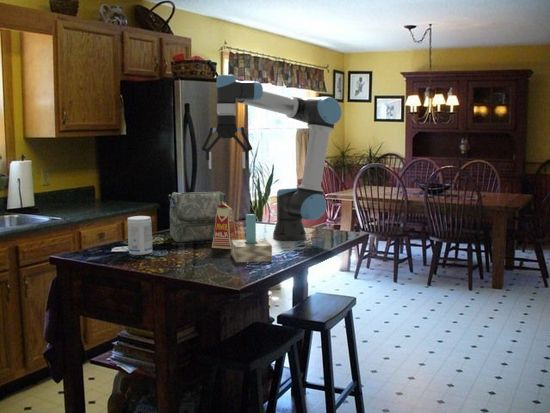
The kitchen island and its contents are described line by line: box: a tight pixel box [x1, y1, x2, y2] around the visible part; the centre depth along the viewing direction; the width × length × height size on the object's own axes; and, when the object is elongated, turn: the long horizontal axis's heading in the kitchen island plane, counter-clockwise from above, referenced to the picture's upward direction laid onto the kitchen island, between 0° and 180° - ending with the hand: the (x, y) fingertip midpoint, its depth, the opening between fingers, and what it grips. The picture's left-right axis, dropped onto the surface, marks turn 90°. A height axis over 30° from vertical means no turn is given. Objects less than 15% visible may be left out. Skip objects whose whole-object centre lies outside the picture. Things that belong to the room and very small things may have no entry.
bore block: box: [230, 238, 273, 263], centre depth 245 cm, size 14×14×6 cm
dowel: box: [245, 213, 257, 244], centre depth 244 cm, size 4×4×15 cm
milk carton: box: [211, 201, 237, 250], centre depth 266 cm, size 9×9×20 cm
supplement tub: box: [127, 215, 153, 256], centre depth 253 cm, size 10×10×15 cm
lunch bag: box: [168, 190, 226, 243], centre depth 284 cm, size 26×18×22 cm
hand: (227, 168), depth 248 cm, fingers open, 13 cm apart
